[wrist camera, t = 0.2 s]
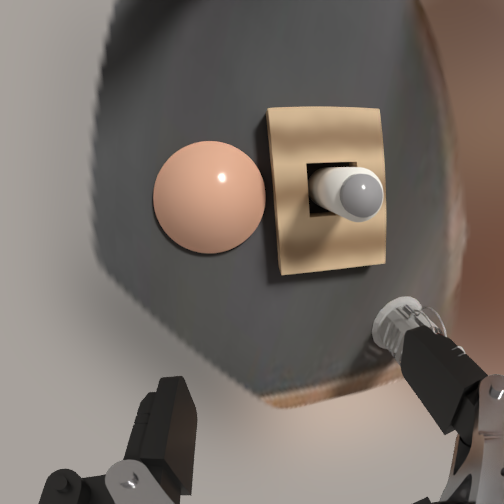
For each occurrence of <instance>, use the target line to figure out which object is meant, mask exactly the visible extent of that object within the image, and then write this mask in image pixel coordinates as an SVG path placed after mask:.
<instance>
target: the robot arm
mask: <svg viewBox="0 0 504 504" xmlns="http://www.w3.org/2000/svg"><path fill="white" fill-rule="evenodd" d="M401 371H402V374H403V376H404V378H405V380H406V381H407V382H408V384H409V385H410V386H411V388H412V389H413V391H414V392H415V393H416V395H417V396H418V398H419V399H420V400H421V401H422V403H423V405H424V406H425V407H426V409H427V410H428V412H429V413H430V415H431V416H432V417H433V419H434V420H435V422H436V423H437V424H438V426H439V427H440V429H441V430H442V432H443V433H444V435H446V434H448V433H450V432H452V431H454V430H456V431H457V432H458V435H457V437H456V441H455V447H454V454H453V459H452V464H451V470H450V474H449V479H448V482H447V485H446V487H445V489H444V491H443V493H442V495H441V498H440V501H439V502H434V503H431V502H430V500H429V498H428V497H426V498H424V499H422V500H420V501H418V502H415V503H413V504H504V376H503V375H497V374H494V375H489V376H488V375H487V374H486V373H485V372H484V371H483V370H482V369H481V368H480V367H479V366H478V365H477V364H476V363H475V362H474V361H473V360H472V359H471V358H469V356H468V355H467V354H464V352H463V351H462V350H461V349H460V348H458V346H457V345H456V344H455V343H454V342H453V341H452V340H451V339H449V338H447V337H445V336H443V335H441V334H435V333H434V332H433V331H432V330H431V329H430V328H429V327H428V326H426V325H422V326H419V327H416V328H413V329H410V330H407V331H406V332H405V335H404V343H403V351H402V358H401ZM134 423H135V425H134V426H133V429H132V432H131V435H130V439H129V442H128V446H127V449H126V452H125V456H124V459H123V460H122V461H120V462H117V463H115V464H114V465H113V466H111V468H110V469H109V470H108V471H107V473H106V474H105V475H101V476H94V477H87V478H81V477H80V476H79V475H78V474H77V473H76V472H74V471H72V470H69V469H60V470H57V471H55V472H53V473H52V474H51V475H50V476H49V477H48V479H47V481H46V483H45V486H44V489H43V492H42V495H41V498H40V501H39V504H180V495H191V490H192V478H193V464H194V451H195V440H196V430H197V412H196V407H195V404H194V402H193V400H192V397H191V395H190V392H189V390H188V387H187V385H186V382H185V380H184V378H183V377H182V376H175V377H163V378H161V379H160V381H159V384H158V388H157V391H156V392H150V393H148V394H147V395H146V397H145V398H144V399H143V400H142V401H141V403H140V406H139V409H138V412H137V416H136V419H135V422H134Z"/></svg>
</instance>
